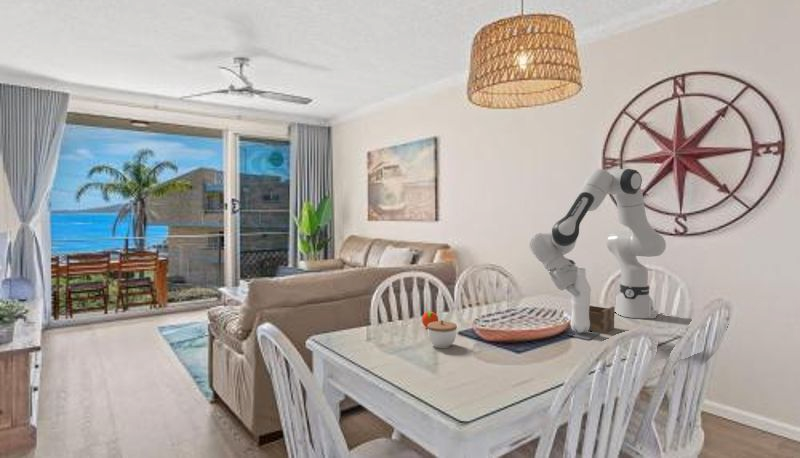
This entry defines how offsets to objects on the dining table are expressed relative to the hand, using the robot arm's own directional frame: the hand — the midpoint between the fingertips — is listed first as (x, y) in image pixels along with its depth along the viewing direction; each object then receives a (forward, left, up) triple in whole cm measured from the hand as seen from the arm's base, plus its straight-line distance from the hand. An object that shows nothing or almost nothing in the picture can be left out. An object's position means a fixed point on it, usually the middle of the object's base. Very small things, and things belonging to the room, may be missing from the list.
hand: (582, 294), depth 178 cm
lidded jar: (+50, -31, -16) cm, 61 cm away
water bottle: (0, -1, -15) cm, 15 cm away
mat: (0, -1, -16) cm, 16 cm away
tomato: (+35, -50, -16) cm, 63 cm away
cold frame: (-13, -1, -16) cm, 21 cm away
